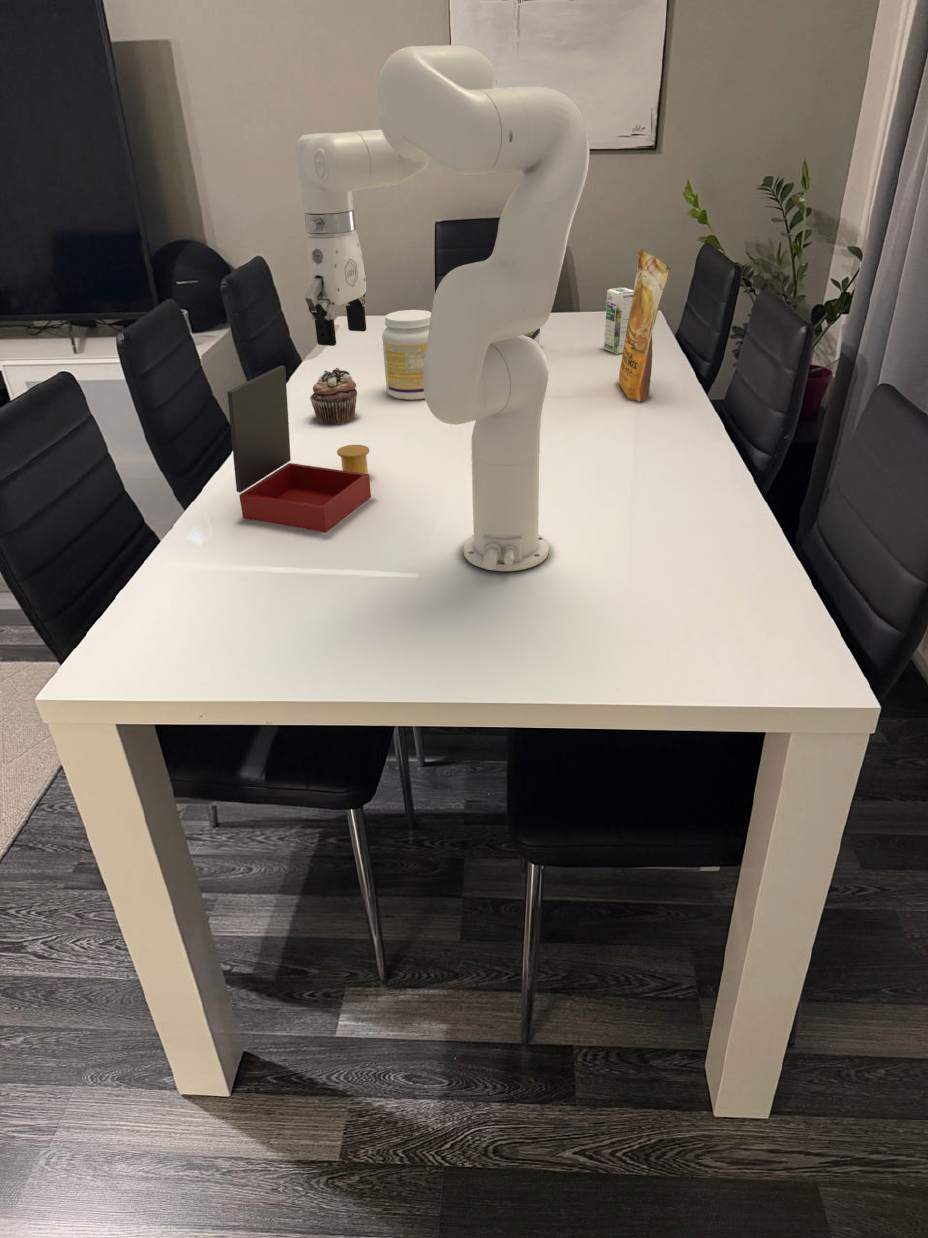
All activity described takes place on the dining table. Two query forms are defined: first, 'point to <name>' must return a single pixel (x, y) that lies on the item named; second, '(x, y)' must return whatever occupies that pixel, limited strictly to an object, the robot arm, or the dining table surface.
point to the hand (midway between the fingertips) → (342, 337)
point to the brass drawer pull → (354, 458)
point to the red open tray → (306, 497)
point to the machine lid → (259, 427)
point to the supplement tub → (405, 352)
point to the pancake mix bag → (642, 325)
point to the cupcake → (334, 398)
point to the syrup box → (617, 318)
